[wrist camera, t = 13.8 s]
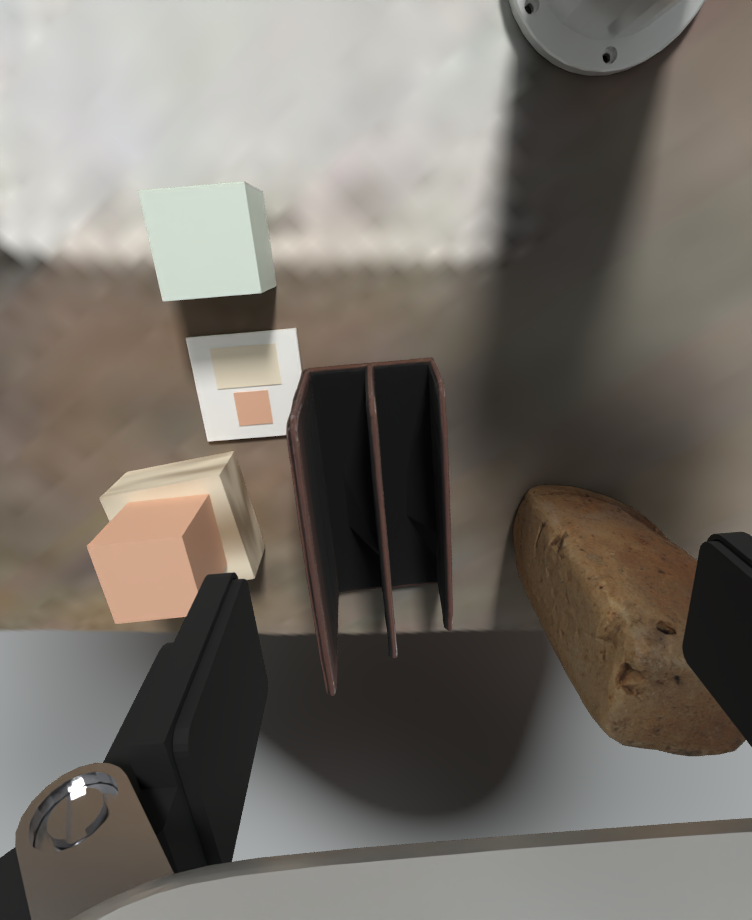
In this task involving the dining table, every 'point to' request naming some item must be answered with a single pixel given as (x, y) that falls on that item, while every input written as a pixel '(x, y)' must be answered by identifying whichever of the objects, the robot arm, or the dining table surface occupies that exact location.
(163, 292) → the sage cube
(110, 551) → the terracotta cube
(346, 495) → the letter holder
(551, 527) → the block
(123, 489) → the birch block
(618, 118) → the dining table surface
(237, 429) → the card
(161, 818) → the robot arm
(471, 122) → the dining table surface
